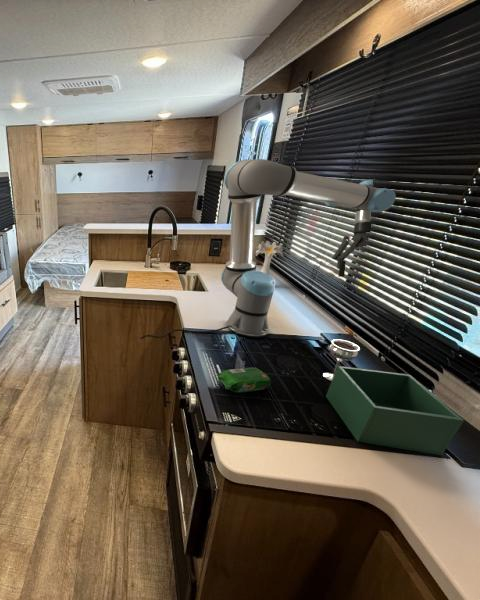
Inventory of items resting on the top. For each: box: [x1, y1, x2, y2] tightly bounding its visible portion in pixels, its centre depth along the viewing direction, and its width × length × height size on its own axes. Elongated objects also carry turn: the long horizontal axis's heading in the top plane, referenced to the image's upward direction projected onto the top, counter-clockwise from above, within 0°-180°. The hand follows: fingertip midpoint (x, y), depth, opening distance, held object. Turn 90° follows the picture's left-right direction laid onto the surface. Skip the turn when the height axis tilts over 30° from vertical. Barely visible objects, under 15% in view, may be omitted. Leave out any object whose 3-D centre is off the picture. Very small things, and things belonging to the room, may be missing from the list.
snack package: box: [217, 366, 272, 393], centre depth 92 cm, size 7×16×5 cm, turn 99°
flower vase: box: [255, 240, 284, 276], centre depth 169 cm, size 13×18×25 cm
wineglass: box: [322, 338, 361, 382], centre depth 95 cm, size 7×7×12 cm
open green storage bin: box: [325, 365, 465, 456], centre depth 78 cm, size 17×17×11 cm
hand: (361, 277), depth 120 cm, fingers open, 13 cm apart
